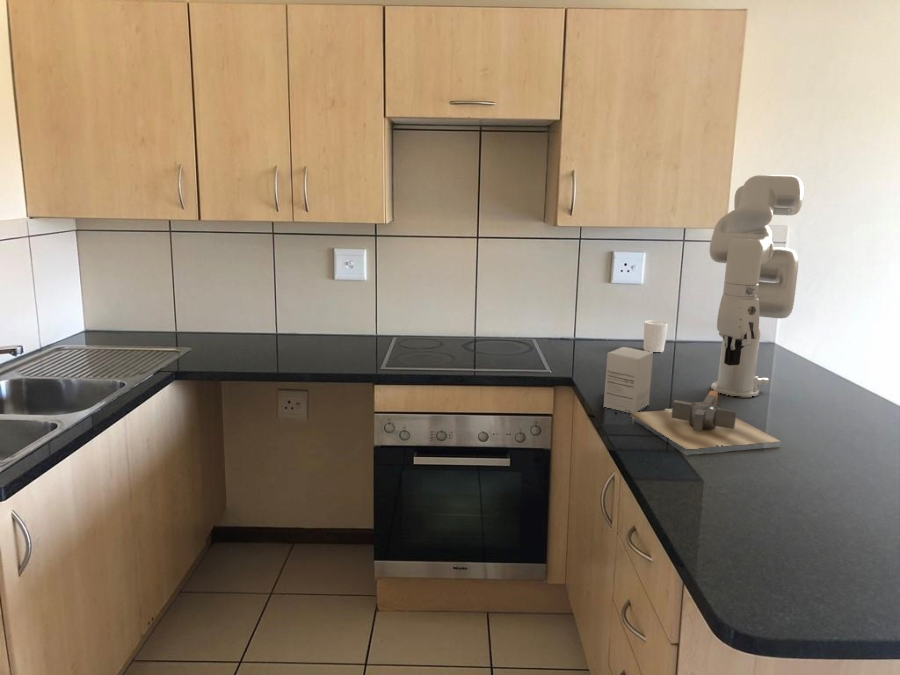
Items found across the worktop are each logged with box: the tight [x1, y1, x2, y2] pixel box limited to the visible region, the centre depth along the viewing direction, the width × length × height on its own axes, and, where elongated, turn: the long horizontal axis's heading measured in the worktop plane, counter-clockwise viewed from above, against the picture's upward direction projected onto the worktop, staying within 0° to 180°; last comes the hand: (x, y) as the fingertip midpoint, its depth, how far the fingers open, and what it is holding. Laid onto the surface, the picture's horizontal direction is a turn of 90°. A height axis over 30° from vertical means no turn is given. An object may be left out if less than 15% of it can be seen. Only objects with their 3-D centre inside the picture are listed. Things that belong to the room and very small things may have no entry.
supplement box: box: [603, 346, 654, 413], centre depth 179 cm, size 9×9×15 cm
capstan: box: [671, 390, 738, 432], centre depth 166 cm, size 21×14×5 cm, turn 150°
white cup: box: [643, 319, 669, 353], centre depth 240 cm, size 8×8×10 cm
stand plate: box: [630, 409, 782, 449], centre depth 164 cm, size 24×24×2 cm
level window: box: [664, 408, 673, 415], centre depth 173 cm, size 6×3×1 cm, turn 105°
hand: (731, 364), depth 168 cm, fingers closed
